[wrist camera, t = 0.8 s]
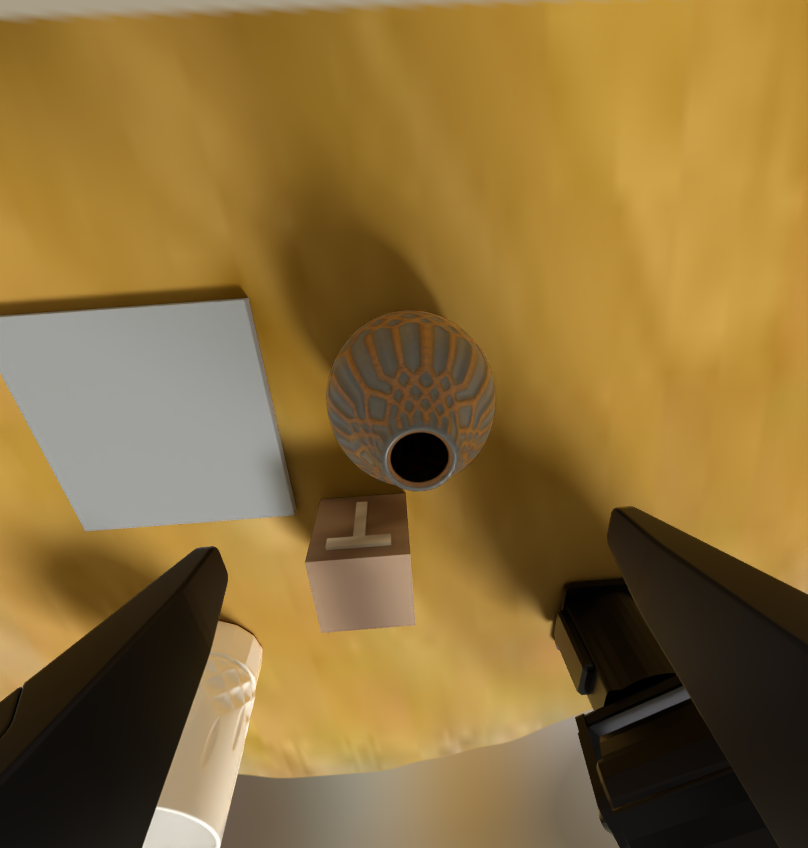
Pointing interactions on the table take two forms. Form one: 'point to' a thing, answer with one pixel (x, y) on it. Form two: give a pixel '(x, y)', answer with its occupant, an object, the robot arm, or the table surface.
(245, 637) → the white cup
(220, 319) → the grey mat
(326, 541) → the letter cube
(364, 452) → the vase
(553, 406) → the table surface
